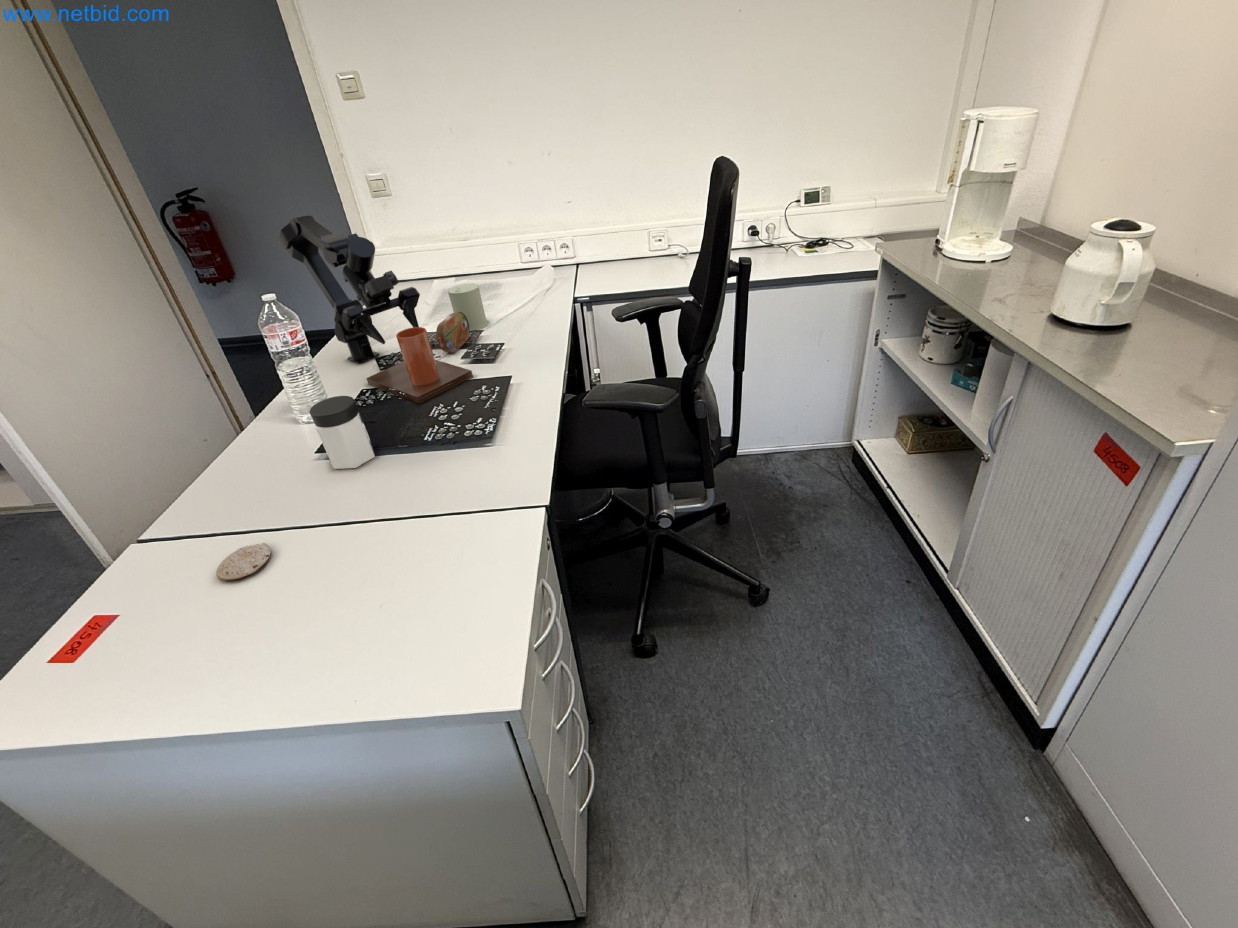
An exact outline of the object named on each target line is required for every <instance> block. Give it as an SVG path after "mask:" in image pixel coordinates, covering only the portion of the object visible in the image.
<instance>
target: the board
mask: <svg viewBox="0 0 1238 928" xmlns="http://www.w3.org/2000/svg"><path fill="white" fill-rule="evenodd" d="M435 362H436V365H437V369H438V372H439V379H438V380H437V381H435V382H433V383H431V384H427V385H421V386H417V385H413V384H412V382H411V380H410V377H409V374H408V371H407V368H406V365H405V362H404V361H402V362H400V363H397V364H395V365H392V366H391V367H388V368H386V369H384V370H381V371H379V372H376V373H375V374H372V375H370V376H368V377H366V378H365V379H366V382H367V385H369V386H371V387H374V388H376V389H379V390H381V391H384V390H385V391H384V392H387V393H389V394H392V395H395V396H397V397H400V398H401V399H405V400H408V401H410V402H412V403H416V404H418V405H421V404H423V403H425V402H427V401H428V400H431V399H433V398H434V397H436V396H439V395H440V394H442V393H445V392H446V391H448V390H451V389H452V388H454V387H456V386H459V385H460V384H463V383H464V382H466V381H469V380H470V379H472V378H474V375H473V372H472V369H468V368H464V367H461V366H457V365H454V364H451V363H448V362H444V361H442V360H438V359H435ZM451 383H452V384H451ZM448 384H450V385H448ZM447 385H448V386H447ZM445 386H446V387H445ZM443 387H444V388H443ZM387 388H391V389H395V390H398V391H400V392H402V393H405V394H406V395H409V396H412V397H413V398H416V399H420V398H422V397H424V396H426V395H428V396H426V397H424V398H422V399H420V400H416V399H413V398H411V397H408V396H405V395H403V394H400V393H397V392H395V391H392V390H389V389H387ZM441 388H442V389H441ZM439 389H440V390H439ZM437 390H438V391H437ZM435 391H436V392H435ZM433 392H434V393H433ZM430 393H432V394H430ZM429 394H430V395H429Z"/></svg>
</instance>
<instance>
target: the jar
mask: <svg viewBox="0 0 1238 928" xmlns="http://www.w3.org/2000/svg"><path fill="white" fill-rule="evenodd" d="M309 414H310V417H311V419H312V422H313V424H314V425H315V430H316V432H317V434H318V436H319V439H320V441H321V444H322V445H323V448H324V450H325V452H326V455H327V457H328V459H329V462H330V464H331V466H332V469H334V470H342V469H356V468H359V467H360V466H361V465H363V464H365V463H367V462H369V461H370V460H372V459H373V458H375V455H376V454H375V451H374V447H373V444H372V441H371V439H370V435H369V433H368V429H367V428H366V425H365V422H364V421H363V419H362V415H361V413H360V411H359V409H358V404H357V402H356V401H355V399H354V397H352V396H349V395H336V396H332V397H328V398H325V399H323V400H320V401H318V402H316V403H314V404H313V405H312V406H311V408H310V409H309ZM371 444H372V445H371Z"/></svg>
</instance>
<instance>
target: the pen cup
mask: <svg viewBox="0 0 1238 928" xmlns="http://www.w3.org/2000/svg"><path fill="white" fill-rule="evenodd" d="M395 337H396V340H397V343H398V346H399V350H400V353H401V355H402V359H403V362H405V365H406V368H407V371H408V374H409V377H410V380H411V382H412V384H413V385H417V386H421V385H427V384H431V383H433V382H435V381H437V380H438V379H439V372H438V369H437V365H436V362H435V360H436V358H435V356H434V351H433V348H432V345H431V341H430V339H429V335H428V331H427V329H426V328H425V327H421V326H419V327H414V328H413V327H409V328H405V329H403V330H400V331H398V332H397V333H396V334H395Z"/></svg>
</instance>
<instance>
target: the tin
mask: <svg viewBox="0 0 1238 928" xmlns="http://www.w3.org/2000/svg"><path fill="white" fill-rule="evenodd" d="M435 332H436V333H435V335H436V339H437V343H438V345H439V348H440V349H441V351H442V352H444V353H457V351H458V350H459V349H461V348H462V347H463V345H464V344H466V343H467V342H468V341H469V339H470V335H471V334H470V333H471V331H470V328H469V323H468V320H467V318H466V316H465V315H464V313H462V312H458V313H454V312H451V313H450V314H448V316H446V317H445V318H444V319H443V320H442V321H441V322H439V324H437V326H436V330H435Z"/></svg>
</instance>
